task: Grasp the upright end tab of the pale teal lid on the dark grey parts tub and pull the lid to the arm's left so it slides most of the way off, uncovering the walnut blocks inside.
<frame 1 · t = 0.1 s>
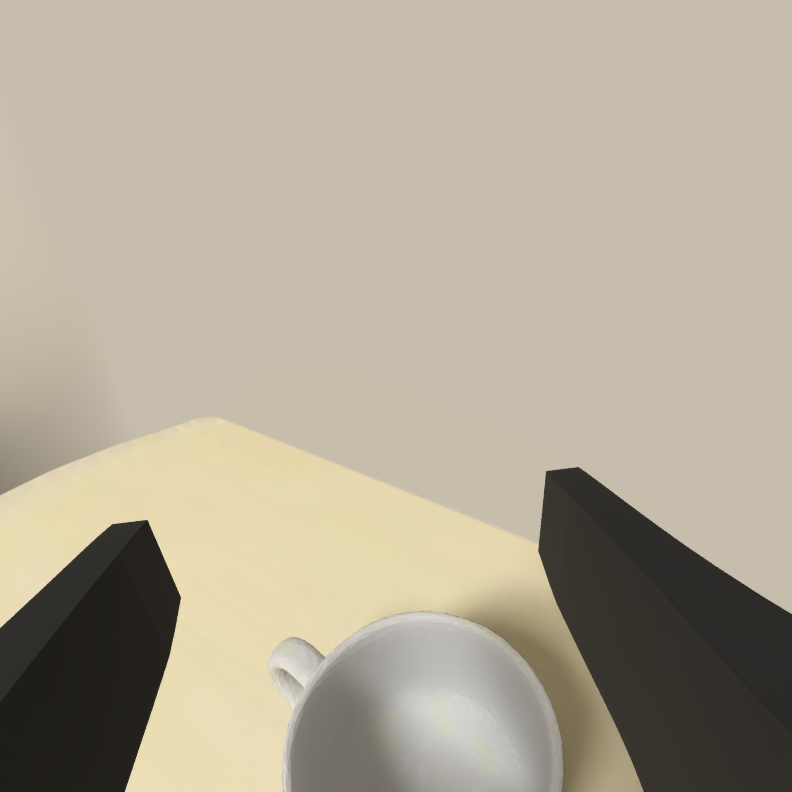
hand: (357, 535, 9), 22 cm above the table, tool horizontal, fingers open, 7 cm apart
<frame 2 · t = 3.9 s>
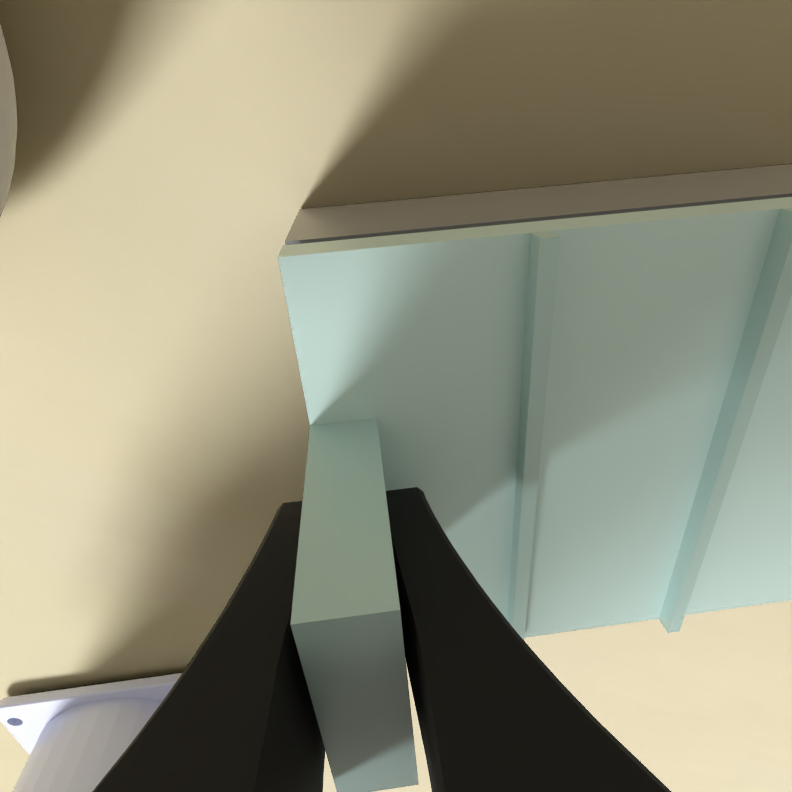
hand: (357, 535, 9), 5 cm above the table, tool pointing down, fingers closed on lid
tub: (539, 373, 14), on the table
lid: (662, 530, 9), point 6 cm above the table, slide at 0.0 cm, touching gripper
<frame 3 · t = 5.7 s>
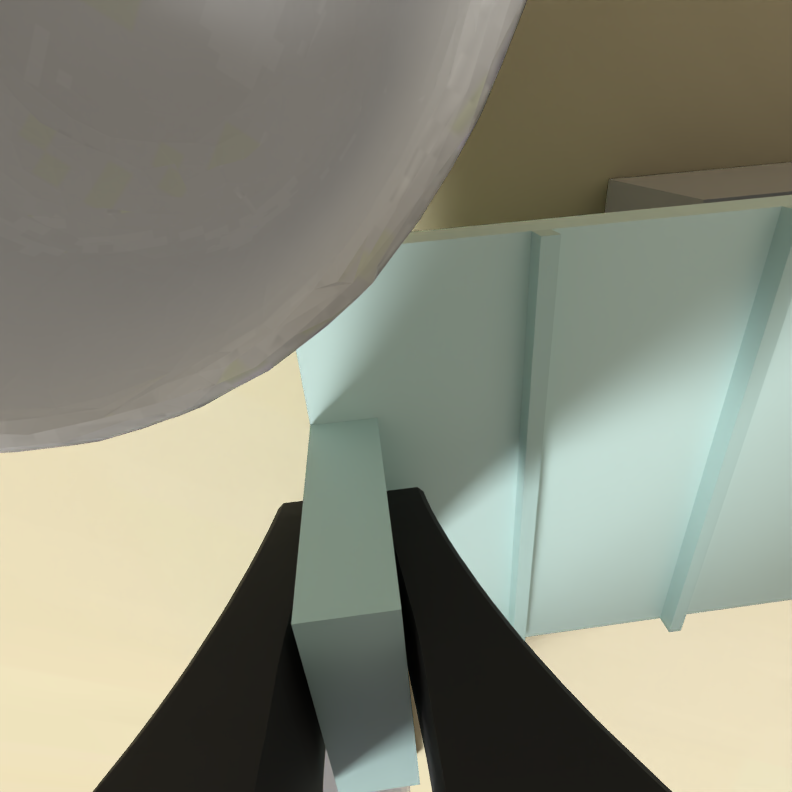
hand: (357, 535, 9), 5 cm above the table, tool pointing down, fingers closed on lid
tub: (783, 345, 14), on the table
lid: (664, 529, 9), point 6 cm above the table, slide at 7.3 cm, touching gripper, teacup
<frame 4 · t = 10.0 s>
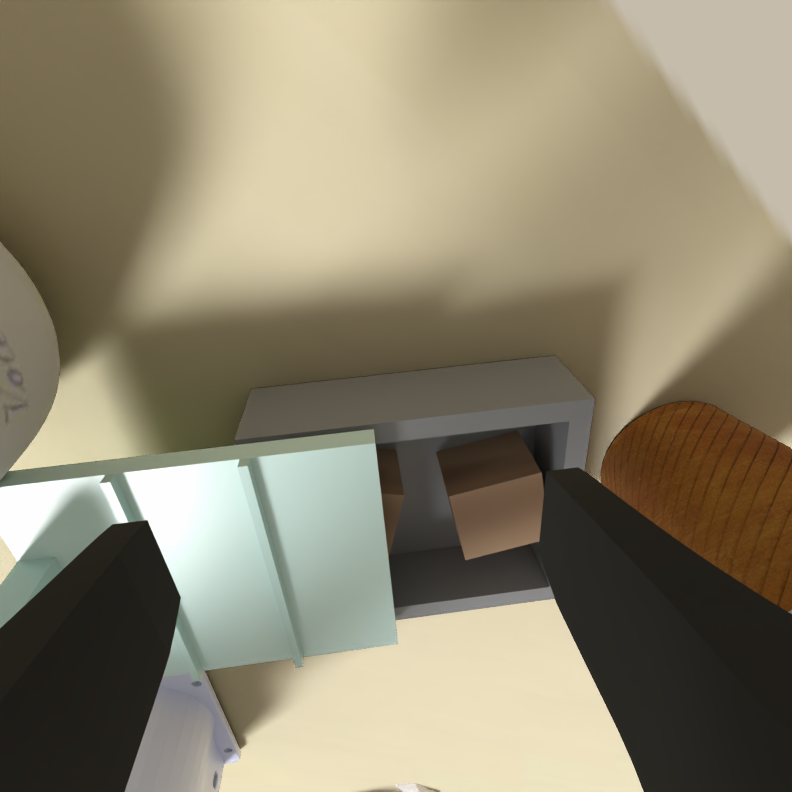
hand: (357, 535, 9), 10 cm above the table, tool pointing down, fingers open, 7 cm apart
disposable coffee cup: (663, 456, 23), on the table
walnut block b: (348, 480, 21), point 1 cm above the table, touching tub
tub: (412, 472, 22), on the table
walnut block a: (483, 473, 21), point 1 cm above the table, touching tub
lid: (208, 619, 16), point 6 cm above the table, slide at 7.5 cm
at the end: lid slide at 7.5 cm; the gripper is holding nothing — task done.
